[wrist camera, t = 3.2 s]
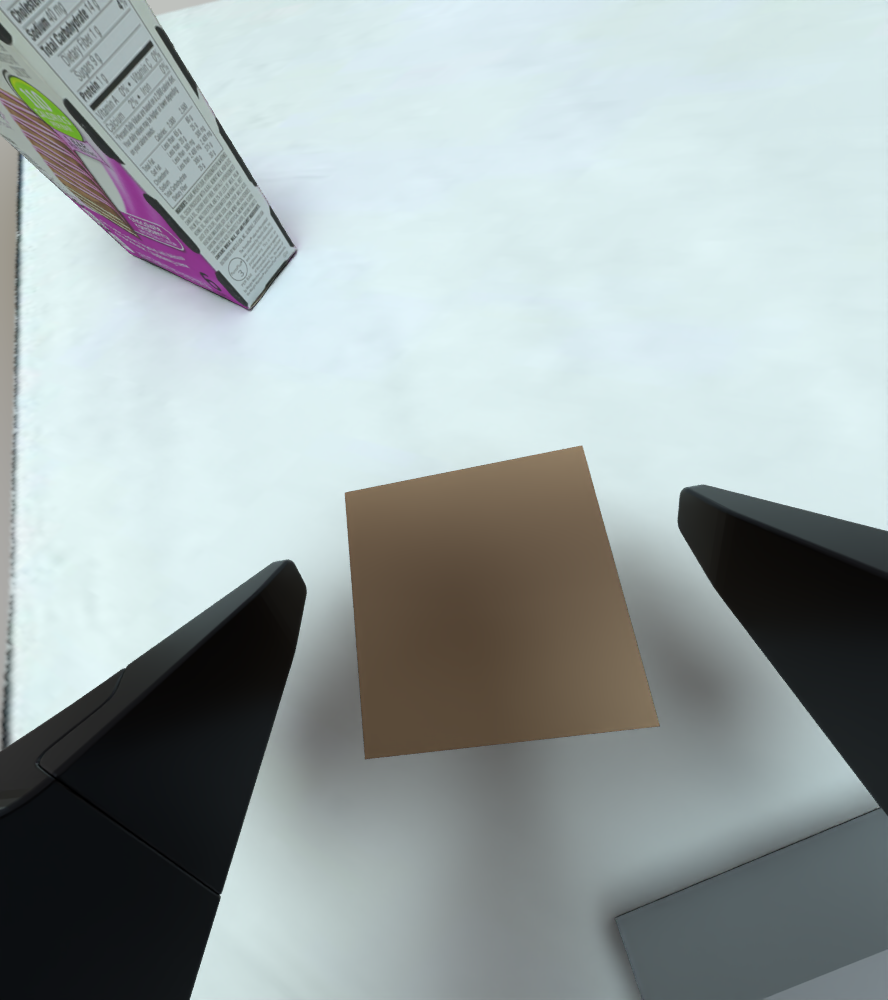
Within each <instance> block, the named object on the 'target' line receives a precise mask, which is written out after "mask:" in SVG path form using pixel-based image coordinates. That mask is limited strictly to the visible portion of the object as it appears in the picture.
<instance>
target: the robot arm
mask: <svg viewBox="0 0 888 1000" xmlns="http://www.w3.org/2000/svg"><path fill="white" fill-rule="evenodd" d="M678 526H679V529H680V532H681V533H682V535H683V537H684V538H685V540H686V542H687V543H688V545H689V547H690V549H691V550H692V552H693V554H694V555H695V557H696V559H697V560H698V562H699V564H700V565H701V567H702V569H703V570H704V572H705V574H706V576H707V577H708V579H709V580H710V582H711V584H712V585H713V587H714V588H715V590H716V591H717V592H718V594H719V595H720V597H721V598H722V599H723V601H724V602H725V603H726V605H727V606H728V607H729V608H730V610H731V611H732V612H733V614H734V615H735V616H736V618H737V619H738V620H739V622H740V623H741V624H742V626H743V627H744V628H745V630H746V631H747V632H748V633H749V635H750V636H751V637H752V639H753V640H754V641H755V643H756V644H757V645H758V647H759V648H760V649H761V651H762V652H763V653H764V655H765V656H766V657H767V658H768V660H769V661H770V662H771V664H772V665H773V666H774V668H775V669H776V670H777V672H778V673H779V674H780V676H781V677H782V678H783V680H784V681H785V682H786V683H787V685H788V686H789V687H790V689H791V690H792V691H793V693H794V694H795V695H796V697H797V698H798V699H799V701H800V702H801V703H802V705H803V706H804V707H805V708H806V710H807V711H808V712H809V714H810V715H811V716H812V718H813V719H814V720H815V722H816V723H817V724H818V726H819V727H820V728H821V730H822V731H823V732H824V733H825V735H826V736H827V737H828V739H829V740H830V741H831V743H832V744H833V745H834V747H835V748H836V749H837V751H838V752H839V753H840V755H841V756H842V757H843V758H844V760H845V761H846V762H847V764H848V765H849V766H850V768H851V769H852V770H853V772H854V773H855V774H856V776H857V777H858V778H859V780H860V781H861V782H862V783H863V785H864V786H865V787H866V789H867V790H868V791H869V793H870V794H871V795H872V797H873V798H874V799H875V801H876V802H877V803H878V805H879V806H880V807H881V808H882V810H883V811H884V812H885V814H886V815H887V816H888V531H885V530H881V529H877V528H873V527H869V526H865V525H861V524H857V523H853V522H849V521H845V520H842V519H838V518H834V517H830V516H826V515H822V514H818V513H814V512H810V511H806V510H802V509H798V508H794V507H790V506H786V505H783V504H779V503H775V502H771V501H767V500H763V499H759V498H755V497H751V496H747V495H743V494H739V493H735V492H731V491H727V490H723V489H720V488H716V487H712V486H708V485H697V486H691V487H686V488H684V489H683V490H682V491H681V493H680V498H679V510H678ZM306 594H307V590H306V585H305V583H304V581H303V579H302V577H301V575H300V573H299V571H298V569H297V567H296V566H295V564H294V562H293V561H291V560H282V561H276V562H273V563H271V564H270V565H269V566H267V567H266V568H264V569H263V570H262V571H260V572H259V573H257V574H256V575H254V576H253V577H252V578H250V579H249V580H247V581H246V582H245V583H243V584H242V585H240V586H239V587H238V588H236V589H235V590H233V591H232V592H230V593H229V594H228V595H226V596H225V597H223V598H222V599H221V600H219V601H218V602H216V603H215V604H213V605H212V606H211V607H209V608H208V609H206V610H205V611H204V612H202V613H201V614H199V615H198V616H197V617H195V618H194V619H192V620H191V621H189V622H188V623H187V624H185V625H184V626H182V627H181V628H180V629H178V630H177V631H175V632H174V633H173V634H171V635H170V636H168V637H167V638H165V639H164V640H163V641H161V642H160V643H158V644H157V645H156V646H154V647H153V648H151V649H150V650H149V651H147V652H146V653H144V654H143V655H141V656H140V657H139V658H137V659H136V660H134V661H133V662H132V663H130V664H129V665H128V666H127V667H126V668H124V669H122V670H120V671H119V672H117V673H116V674H114V675H113V676H112V677H110V678H109V679H107V680H106V681H105V682H103V683H102V684H100V685H99V686H97V687H96V688H95V689H93V690H92V691H90V692H89V693H87V694H86V695H84V696H83V697H82V698H80V699H79V700H77V701H76V702H74V703H73V704H71V705H70V706H68V707H67V708H65V709H64V710H62V711H61V712H59V713H58V714H56V715H55V716H53V717H52V718H50V719H49V720H47V721H46V722H44V723H43V724H41V725H40V726H38V727H37V728H35V729H34V730H32V731H31V732H29V733H28V734H26V735H25V736H23V737H22V738H20V739H19V740H17V741H16V742H14V743H13V744H11V745H10V746H8V747H6V748H5V749H3V750H2V751H0V1000H190V997H191V994H192V990H193V987H194V984H195V980H196V977H197V974H198V971H199V967H200V964H201V961H202V957H203V954H204V951H205V948H206V944H207V941H208V938H209V935H210V931H211V928H212V925H213V921H214V918H215V915H216V912H217V908H218V905H219V902H220V898H221V896H220V894H221V893H222V891H223V888H224V884H225V881H226V878H227V875H228V871H229V868H230V865H231V861H232V858H233V855H234V852H235V848H236V845H237V842H238V838H239V835H240V832H241V829H242V825H243V822H244V819H245V815H246V812H247V809H248V806H249V802H250V799H251V796H252V792H253V789H254V786H255V783H256V779H257V776H258V773H259V769H260V766H261V763H262V760H263V756H264V753H265V750H266V746H267V743H268V740H269V737H270V733H271V730H272V727H273V724H274V720H275V717H276V714H277V710H278V707H279V704H280V701H281V697H282V694H283V691H284V687H285V684H286V681H287V678H288V674H289V671H290V668H291V664H292V661H293V658H294V654H295V650H296V646H297V641H298V636H299V631H300V626H301V620H302V615H303V610H304V605H305V600H306Z"/></svg>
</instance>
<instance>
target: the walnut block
mask: <svg viewBox="0 0 888 1000" xmlns="http://www.w3.org/2000/svg"><path fill="white" fill-rule="evenodd" d="M345 502H346V515H347V528H348V542H349V555H350V568H351V581H352V594H353V607H354V620H355V633H356V647H357V660H358V673H359V686H360V699H361V712H362V725H363V738H364V752H365V759H371V758H380V757H389V756H398V755H407V754H416V753H425V752H434V751H443V750H452V749H461V748H469V747H478V746H487V745H496V744H505V743H514V742H523V741H532V740H541V739H550V738H559V737H568V736H577V735H586V734H595V733H604V732H612V731H621V730H630V729H639V728H648V727H657V726H660V725H659V721H658V718H657V714H656V710H655V707H654V703H653V700H652V696H651V692H650V689H649V685H648V681H647V678H646V674H645V671H644V667H643V663H642V660H641V656H640V653H639V649H638V645H637V642H636V638H635V634H634V631H633V627H632V624H631V620H630V616H629V613H628V609H627V606H626V602H625V598H624V595H623V591H622V587H621V584H620V580H619V577H618V573H617V569H616V566H615V562H614V559H613V555H612V551H611V548H610V544H609V541H608V537H607V533H606V530H605V526H604V522H603V519H602V515H601V512H600V508H599V504H598V501H597V497H596V494H595V490H594V486H593V483H592V479H591V475H590V472H589V468H588V465H587V461H586V457H585V454H584V450H583V447H582V446H577V447H572V448H567V449H562V450H557V451H552V452H547V453H542V454H537V455H532V456H527V457H522V458H517V459H512V460H507V461H502V462H497V463H492V464H487V465H481V466H476V467H471V468H466V469H461V470H456V471H451V472H446V473H441V474H436V475H431V476H426V477H421V478H416V479H411V480H406V481H401V482H396V483H391V484H386V485H381V486H376V487H371V488H366V489H361V490H356V491H351V492H346V493H345Z"/></svg>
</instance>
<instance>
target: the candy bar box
mask: <svg viewBox="0 0 888 1000" xmlns="http://www.w3.org/2000/svg"><path fill="white" fill-rule="evenodd" d="M0 135H1V136H2V137H3V138H4V139H5V140H6V141H8V142H9V143H10V144H11V145H12V146H13V147H14V148H15V149H16V150H17V151H19V152H20V153H21V154H22V155H23V156H24V157H25V158H26V159H27V160H28V161H30V162H31V163H32V164H33V165H34V166H35V167H36V168H37V169H38V170H39V171H40V172H41V173H43V174H44V175H45V176H46V177H47V178H48V179H49V180H50V181H51V182H52V183H54V184H55V185H56V186H57V187H58V188H59V189H60V190H61V191H62V192H63V193H64V194H65V195H67V196H68V197H69V198H70V199H71V200H72V201H73V202H74V203H75V204H77V205H78V206H79V207H80V208H81V209H82V210H83V211H84V212H85V213H86V214H88V215H89V216H90V217H91V218H92V219H93V220H94V221H95V222H96V223H97V224H98V225H100V226H101V227H102V228H103V229H104V230H105V231H106V232H107V233H108V234H109V235H110V236H112V237H113V238H114V239H115V240H116V241H117V242H118V243H119V244H120V245H121V246H122V247H123V248H125V249H126V250H127V251H128V252H129V253H130V254H133V255H135V256H137V257H139V258H141V259H143V260H146V261H148V262H150V263H152V264H154V265H156V266H158V267H161V268H163V269H165V270H167V271H169V272H171V273H174V274H176V275H178V276H180V277H182V278H184V279H186V280H188V281H190V282H192V283H194V284H196V285H199V286H201V287H203V288H205V289H207V290H209V291H211V292H213V293H215V294H217V295H220V296H222V297H224V298H226V299H228V300H230V301H232V302H234V303H236V304H238V305H240V306H242V307H244V308H246V309H251V308H252V307H253V306H254V305H255V304H256V303H257V302H258V301H259V300H260V299H261V297H262V296H263V295H264V293H265V292H266V290H267V289H268V287H269V286H270V284H271V283H272V282H273V280H274V279H275V277H276V276H277V275H278V273H279V272H280V271H281V270H282V268H283V267H284V266H285V265H286V264H287V262H288V261H289V259H290V258H291V257H292V255H293V254H294V253H295V251H296V247H295V246H294V244H293V243H292V241H291V240H290V238H289V236H288V235H287V233H286V231H285V230H284V228H283V227H282V225H281V223H280V221H279V220H278V218H277V216H276V215H275V213H274V211H273V210H272V208H271V206H270V205H269V203H268V201H267V200H266V198H265V196H264V195H263V193H262V192H261V190H260V188H259V187H258V185H257V183H256V182H255V180H254V178H253V177H252V175H251V173H250V172H249V170H248V168H247V167H246V165H245V163H244V162H243V160H242V158H241V157H240V155H239V154H238V152H237V150H236V149H235V147H234V145H233V144H232V142H231V140H230V139H229V137H228V136H227V134H226V133H225V131H224V129H223V127H222V126H221V124H220V122H219V121H218V119H217V118H216V116H215V114H214V113H213V111H212V109H211V108H210V106H209V104H208V102H207V101H206V99H205V97H204V96H203V94H202V92H201V91H200V89H199V87H198V86H197V84H196V82H195V81H194V79H193V78H192V76H191V74H190V73H189V71H188V70H187V68H186V66H185V65H184V63H183V62H182V60H181V58H180V57H179V55H178V53H177V52H176V50H175V48H174V46H173V44H172V43H171V41H170V39H169V38H168V36H167V34H166V33H165V31H164V30H163V28H162V27H161V25H160V23H159V22H158V20H157V18H156V16H155V15H154V13H153V11H152V10H151V8H150V7H149V5H148V4H147V2H146V0H0Z"/></svg>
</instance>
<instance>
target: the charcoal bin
mask: <svg viewBox="0 0 888 1000" xmlns="http://www.w3.org/2000/svg"><path fill="white" fill-rule="evenodd" d="M615 920H616V923H617V925H618V928H619V931H620V934H621V937H622V940H623V943H624V946H625V949H626V952H627V955H628V958H629V961H630V964H631V967H632V970H633V973H634V976H635V979H636V982H637V985H638V988H639V990H640V993H641V996H642V999H643V1000H888V816H887V815H886V814H885V812H884V811H883V810H882V808H880V809H877V810H875V811H872V812H870V813H868V814H865V815H863V816H860V817H858V818H855V819H853V820H851V821H848V822H846V823H843V824H841V825H839V826H836V827H834V828H831V829H829V830H826V831H824V832H822V833H819V834H817V835H814V836H812V837H810V838H807V839H805V840H802V841H800V842H798V843H795V844H793V845H790V846H788V847H785V848H783V849H781V850H778V851H776V852H773V853H771V854H769V855H766V856H764V857H761V858H759V859H756V860H754V861H752V862H749V863H747V864H744V865H742V866H740V867H737V868H735V869H732V870H730V871H728V872H725V873H723V874H720V875H718V876H715V877H713V878H711V879H708V880H706V881H703V882H701V883H699V884H696V885H694V886H691V887H689V888H687V889H684V890H682V891H679V892H677V893H674V894H672V895H670V896H667V897H665V898H662V899H660V900H658V901H655V902H653V903H650V904H648V905H645V906H643V907H641V908H638V909H636V910H633V911H631V912H629V913H626V914H624V915H621V916H619V917H617V918H615Z"/></svg>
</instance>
